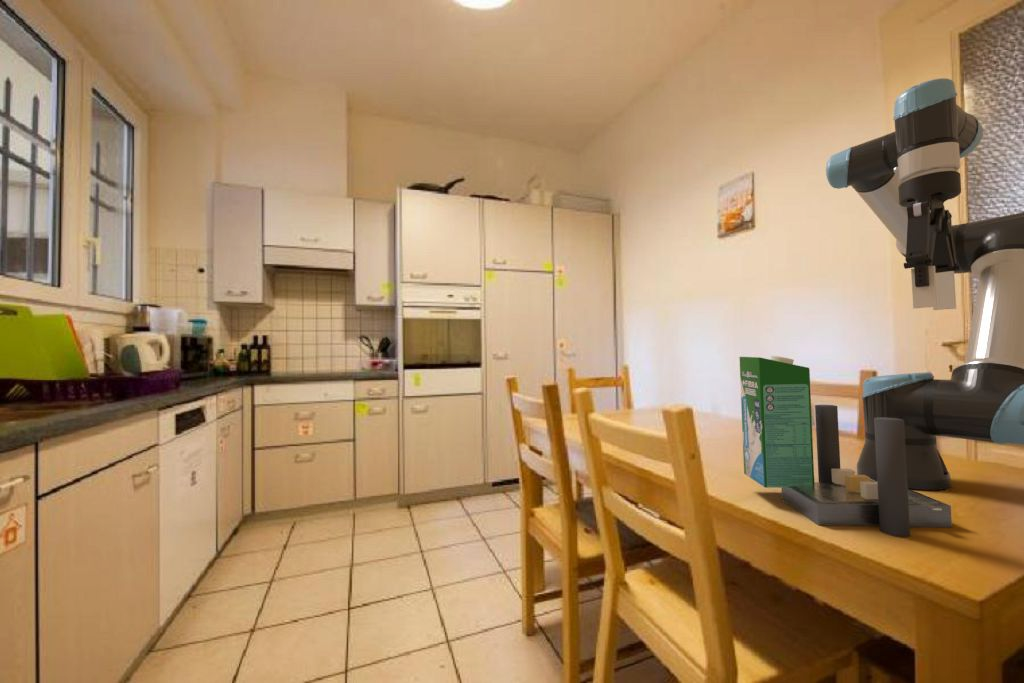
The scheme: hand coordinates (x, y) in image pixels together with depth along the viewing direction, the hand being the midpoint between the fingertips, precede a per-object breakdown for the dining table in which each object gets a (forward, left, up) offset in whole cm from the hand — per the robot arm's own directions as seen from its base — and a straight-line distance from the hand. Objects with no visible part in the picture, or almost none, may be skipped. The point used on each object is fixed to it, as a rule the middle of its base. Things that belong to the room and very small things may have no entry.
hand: (935, 308), depth 72 cm
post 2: (+11, +4, -36) cm, 38 cm away
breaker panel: (+11, -4, -36) cm, 38 cm away
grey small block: (+11, -8, -32) cm, 35 cm away
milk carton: (+21, -12, -33) cm, 40 cm away
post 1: (+11, -12, -36) cm, 39 cm away
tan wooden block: (+11, -4, -32) cm, 34 cm away
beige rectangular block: (+11, 0, -32) cm, 34 cm away
